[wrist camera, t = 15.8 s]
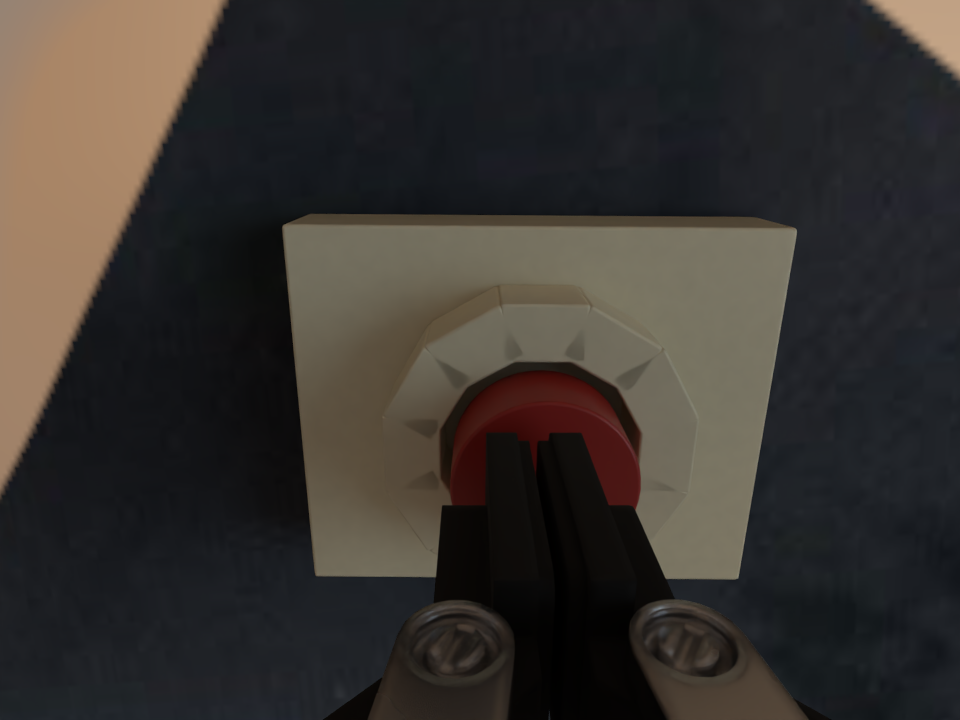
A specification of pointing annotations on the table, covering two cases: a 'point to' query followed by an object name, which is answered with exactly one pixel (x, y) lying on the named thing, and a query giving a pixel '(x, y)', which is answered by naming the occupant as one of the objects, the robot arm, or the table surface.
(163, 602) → the table surface
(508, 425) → the timer button
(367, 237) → the beige button base
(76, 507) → the table surface
